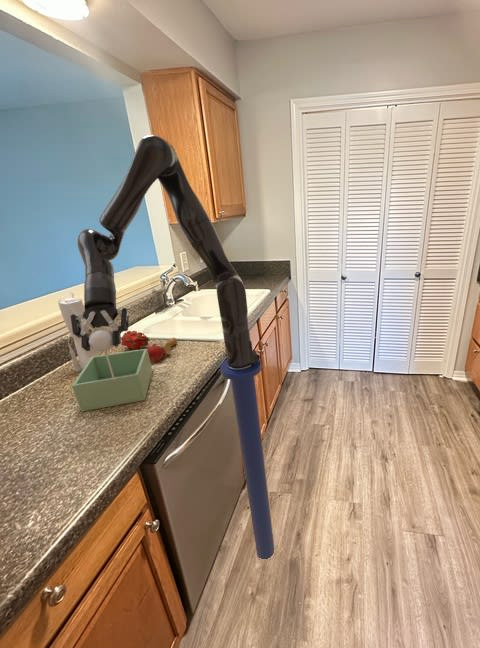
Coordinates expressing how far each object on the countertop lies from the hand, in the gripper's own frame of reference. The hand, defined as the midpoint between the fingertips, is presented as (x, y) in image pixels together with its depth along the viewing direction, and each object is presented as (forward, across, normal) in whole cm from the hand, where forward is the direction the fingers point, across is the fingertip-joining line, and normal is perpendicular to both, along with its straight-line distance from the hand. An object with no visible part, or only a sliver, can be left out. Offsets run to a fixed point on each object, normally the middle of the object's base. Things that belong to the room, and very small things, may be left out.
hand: (101, 347), depth 85 cm
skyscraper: (-12, -19, +43) cm, 49 cm away
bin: (+4, -4, +27) cm, 27 cm away
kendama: (-13, +7, +44) cm, 47 cm away
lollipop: (+6, 0, +9) cm, 11 cm away
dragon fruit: (-20, -4, +51) cm, 55 cm away
